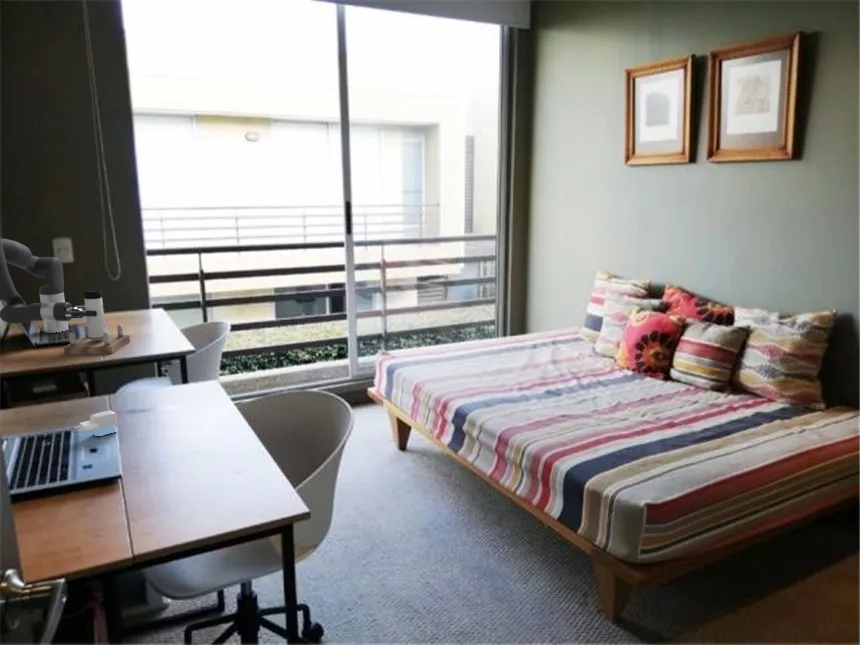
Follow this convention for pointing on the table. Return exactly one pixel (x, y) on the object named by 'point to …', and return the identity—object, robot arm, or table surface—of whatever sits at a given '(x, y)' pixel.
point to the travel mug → (94, 322)
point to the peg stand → (97, 343)
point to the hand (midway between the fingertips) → (100, 311)
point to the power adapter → (97, 421)
